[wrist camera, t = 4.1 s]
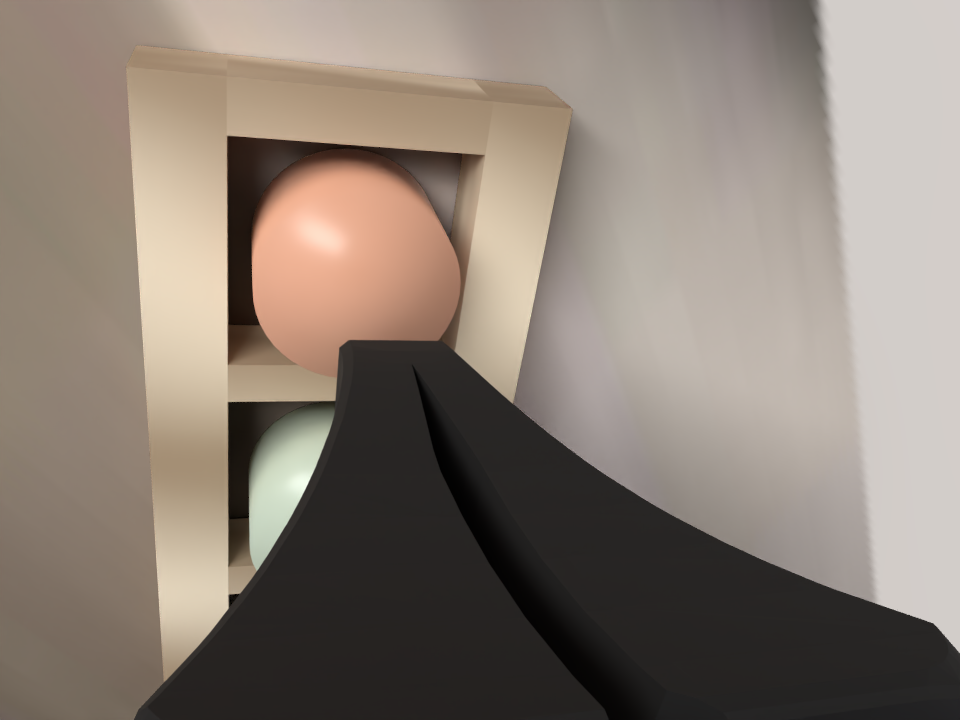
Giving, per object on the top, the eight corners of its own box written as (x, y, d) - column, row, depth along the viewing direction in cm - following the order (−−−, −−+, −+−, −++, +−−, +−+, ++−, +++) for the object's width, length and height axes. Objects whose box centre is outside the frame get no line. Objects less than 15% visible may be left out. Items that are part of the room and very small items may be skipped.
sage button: (403, 524, 19) (420, 597, 17) (248, 532, 18) (248, 610, 16) (420, 400, 17) (441, 465, 15) (249, 401, 16) (250, 472, 14)
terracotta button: (425, 319, 17) (446, 378, 15) (250, 316, 16) (251, 378, 14) (446, 155, 15) (474, 199, 13) (252, 141, 14) (253, 186, 12)
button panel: (438, 669, 23) (449, 716, 22) (172, 696, 21) (168, 749, 20) (545, 86, 15) (572, 109, 14) (137, 45, 13) (126, 66, 12)
